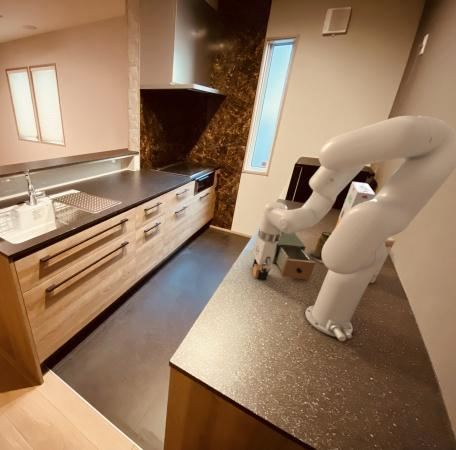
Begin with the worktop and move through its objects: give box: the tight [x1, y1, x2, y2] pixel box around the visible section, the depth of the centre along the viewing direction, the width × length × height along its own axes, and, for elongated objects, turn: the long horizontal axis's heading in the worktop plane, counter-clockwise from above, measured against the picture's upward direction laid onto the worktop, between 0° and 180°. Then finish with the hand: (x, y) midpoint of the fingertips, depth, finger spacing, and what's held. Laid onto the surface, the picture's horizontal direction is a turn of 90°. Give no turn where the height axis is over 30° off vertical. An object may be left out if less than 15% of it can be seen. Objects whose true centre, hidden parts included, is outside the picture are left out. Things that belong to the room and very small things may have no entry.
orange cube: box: [252, 264, 266, 279], centre depth 99 cm, size 4×4×4 cm
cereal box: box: [334, 181, 376, 229], centre depth 122 cm, size 22×6×30 cm, turn 148°
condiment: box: [307, 231, 332, 264], centre depth 112 cm, size 7×8×12 cm
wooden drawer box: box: [275, 246, 316, 280], centre depth 102 cm, size 15×10×8 cm
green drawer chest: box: [272, 232, 307, 264], centre depth 113 cm, size 15×12×10 cm
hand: (259, 273), depth 100 cm, fingers open, 7 cm apart
